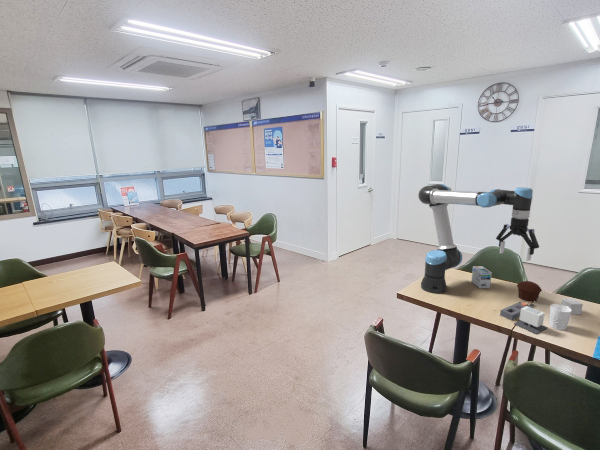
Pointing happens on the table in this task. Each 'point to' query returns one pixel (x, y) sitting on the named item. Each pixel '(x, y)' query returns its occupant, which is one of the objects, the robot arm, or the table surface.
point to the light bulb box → (481, 277)
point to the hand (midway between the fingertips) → (514, 256)
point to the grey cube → (573, 305)
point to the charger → (532, 316)
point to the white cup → (559, 316)
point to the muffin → (528, 291)
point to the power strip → (514, 310)
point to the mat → (531, 328)
